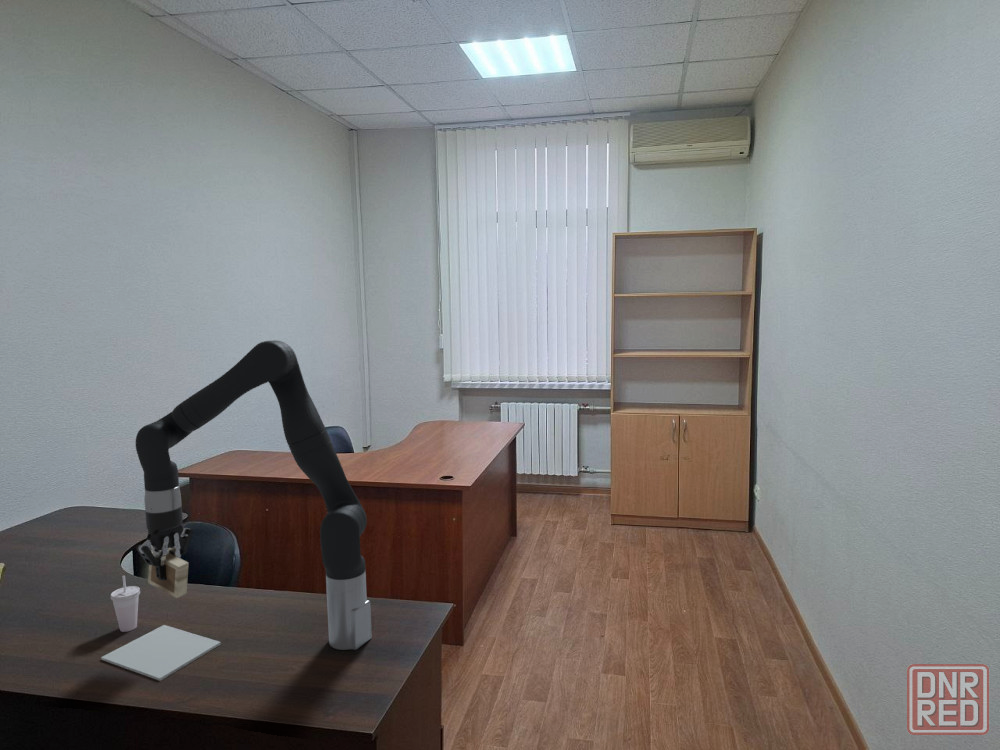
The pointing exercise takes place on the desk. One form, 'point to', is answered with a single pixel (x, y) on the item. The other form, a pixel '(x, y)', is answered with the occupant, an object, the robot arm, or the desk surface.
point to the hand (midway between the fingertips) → (168, 576)
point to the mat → (161, 652)
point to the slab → (171, 576)
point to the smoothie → (126, 606)
